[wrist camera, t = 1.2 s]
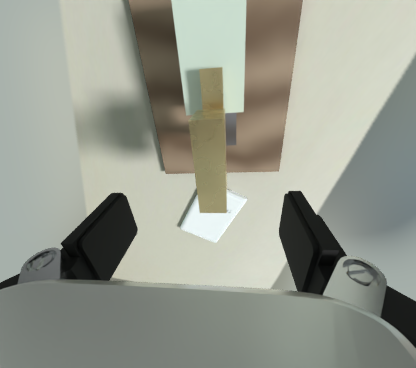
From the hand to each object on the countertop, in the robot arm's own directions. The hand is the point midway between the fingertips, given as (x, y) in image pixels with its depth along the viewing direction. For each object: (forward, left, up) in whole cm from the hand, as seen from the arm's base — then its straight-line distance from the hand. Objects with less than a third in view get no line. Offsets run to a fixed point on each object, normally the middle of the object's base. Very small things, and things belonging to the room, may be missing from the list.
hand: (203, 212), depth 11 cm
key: (-2, 0, -17) cm, 17 cm away
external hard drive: (+16, -2, -19) cm, 25 cm away
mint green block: (-8, 0, -15) cm, 17 cm away
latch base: (-4, 0, -19) cm, 19 cm away
